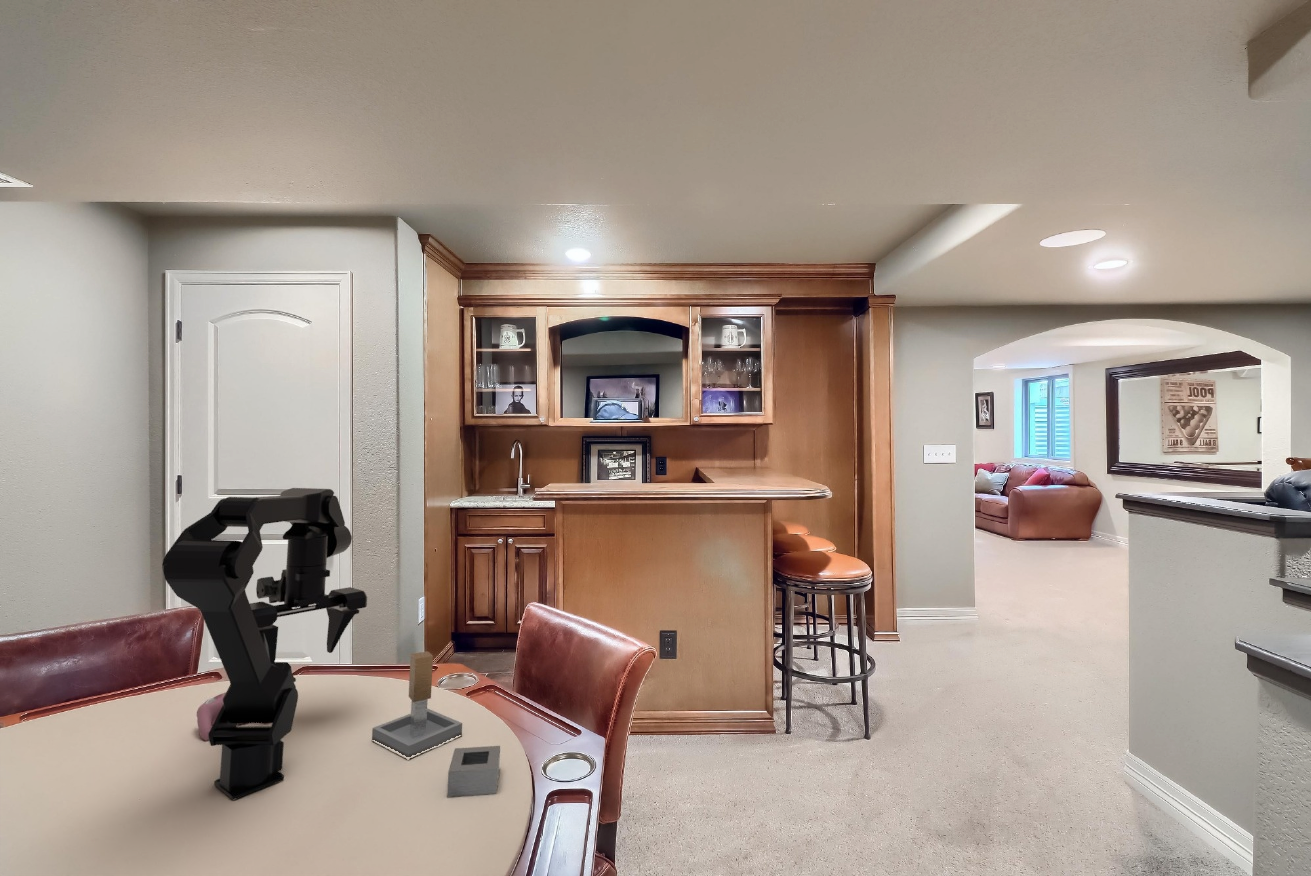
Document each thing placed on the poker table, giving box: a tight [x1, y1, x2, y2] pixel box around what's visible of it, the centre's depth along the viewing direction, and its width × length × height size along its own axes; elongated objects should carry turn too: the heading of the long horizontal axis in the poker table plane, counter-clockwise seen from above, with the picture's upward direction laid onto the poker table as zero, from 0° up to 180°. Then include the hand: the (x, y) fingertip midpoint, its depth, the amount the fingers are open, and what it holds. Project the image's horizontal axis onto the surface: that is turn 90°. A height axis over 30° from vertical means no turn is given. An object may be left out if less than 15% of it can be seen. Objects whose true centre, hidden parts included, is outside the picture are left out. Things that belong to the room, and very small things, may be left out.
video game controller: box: [196, 691, 267, 742], centre depth 99 cm, size 10×5×7 cm, turn 141°
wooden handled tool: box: [408, 650, 434, 738], centre depth 98 cm, size 3×3×13 cm
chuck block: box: [446, 745, 501, 798], centre depth 85 cm, size 7×7×4 cm
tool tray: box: [371, 707, 463, 757], centre depth 97 cm, size 10×10×2 cm
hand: (301, 659), depth 96 cm, fingers open, 9 cm apart
